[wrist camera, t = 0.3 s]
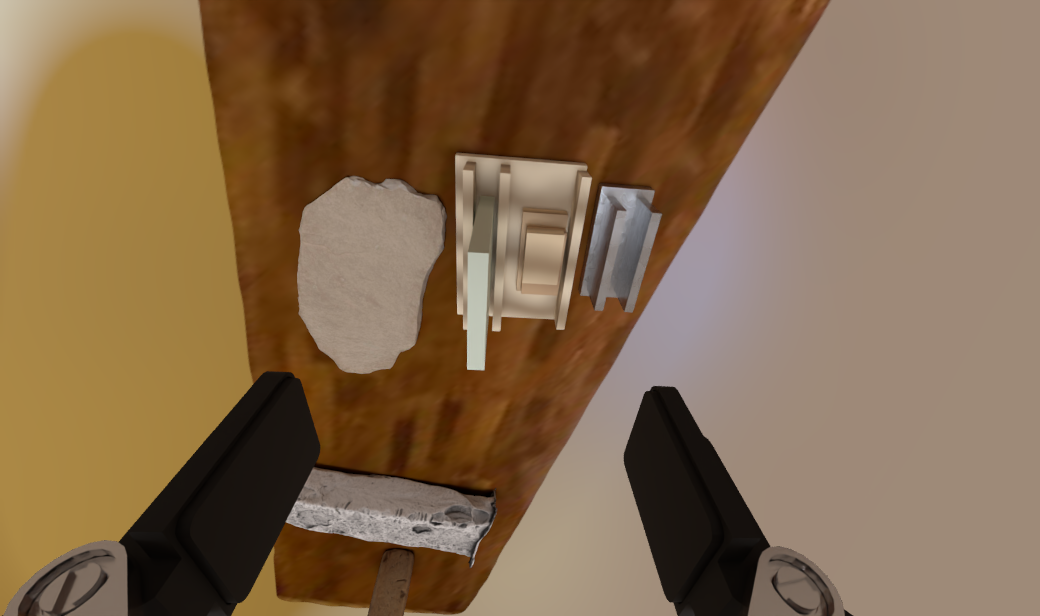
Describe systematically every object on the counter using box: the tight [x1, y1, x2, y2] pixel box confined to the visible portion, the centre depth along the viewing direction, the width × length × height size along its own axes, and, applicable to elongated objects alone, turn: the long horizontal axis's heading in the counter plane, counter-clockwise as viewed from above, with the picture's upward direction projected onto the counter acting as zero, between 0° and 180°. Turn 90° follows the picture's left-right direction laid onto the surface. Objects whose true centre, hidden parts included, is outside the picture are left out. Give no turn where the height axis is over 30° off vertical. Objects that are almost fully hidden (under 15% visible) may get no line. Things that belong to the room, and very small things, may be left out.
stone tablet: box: [297, 176, 447, 374], centre depth 47 cm, size 16×30×2 cm, turn 159°
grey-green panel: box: [467, 196, 495, 370], centre depth 38 cm, size 12×2×15 cm, turn 175°
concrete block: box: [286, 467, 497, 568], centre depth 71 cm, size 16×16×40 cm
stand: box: [578, 183, 662, 312], centre depth 43 cm, size 14×6×6 cm, turn 175°
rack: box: [455, 153, 592, 331], centre depth 43 cm, size 20×14×6 cm
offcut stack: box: [516, 208, 568, 296], centre depth 42 cm, size 10×5×4 cm, turn 175°
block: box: [368, 549, 414, 616], centre depth 80 cm, size 11×8×20 cm
